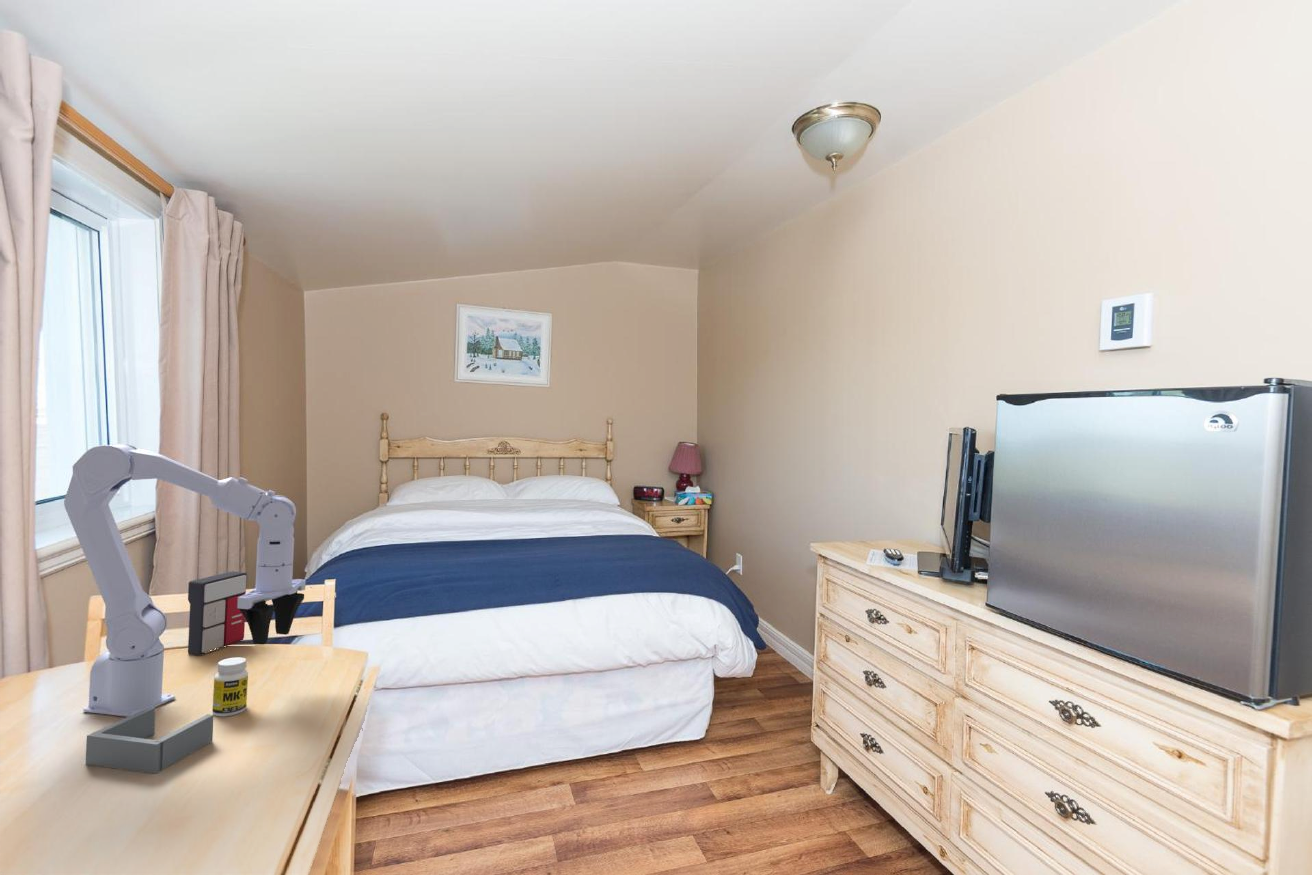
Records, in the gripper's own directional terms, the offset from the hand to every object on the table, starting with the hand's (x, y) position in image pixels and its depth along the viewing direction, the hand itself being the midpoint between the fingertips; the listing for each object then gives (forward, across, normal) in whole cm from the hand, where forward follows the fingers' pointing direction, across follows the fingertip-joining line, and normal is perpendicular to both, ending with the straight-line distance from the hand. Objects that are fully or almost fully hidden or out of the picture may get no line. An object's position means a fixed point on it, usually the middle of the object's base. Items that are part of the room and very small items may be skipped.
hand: (271, 638), depth 116 cm
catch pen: (+9, -23, 0) cm, 25 cm away
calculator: (+10, +17, +26) cm, 33 cm away
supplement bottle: (+10, -9, 0) cm, 13 cm away
